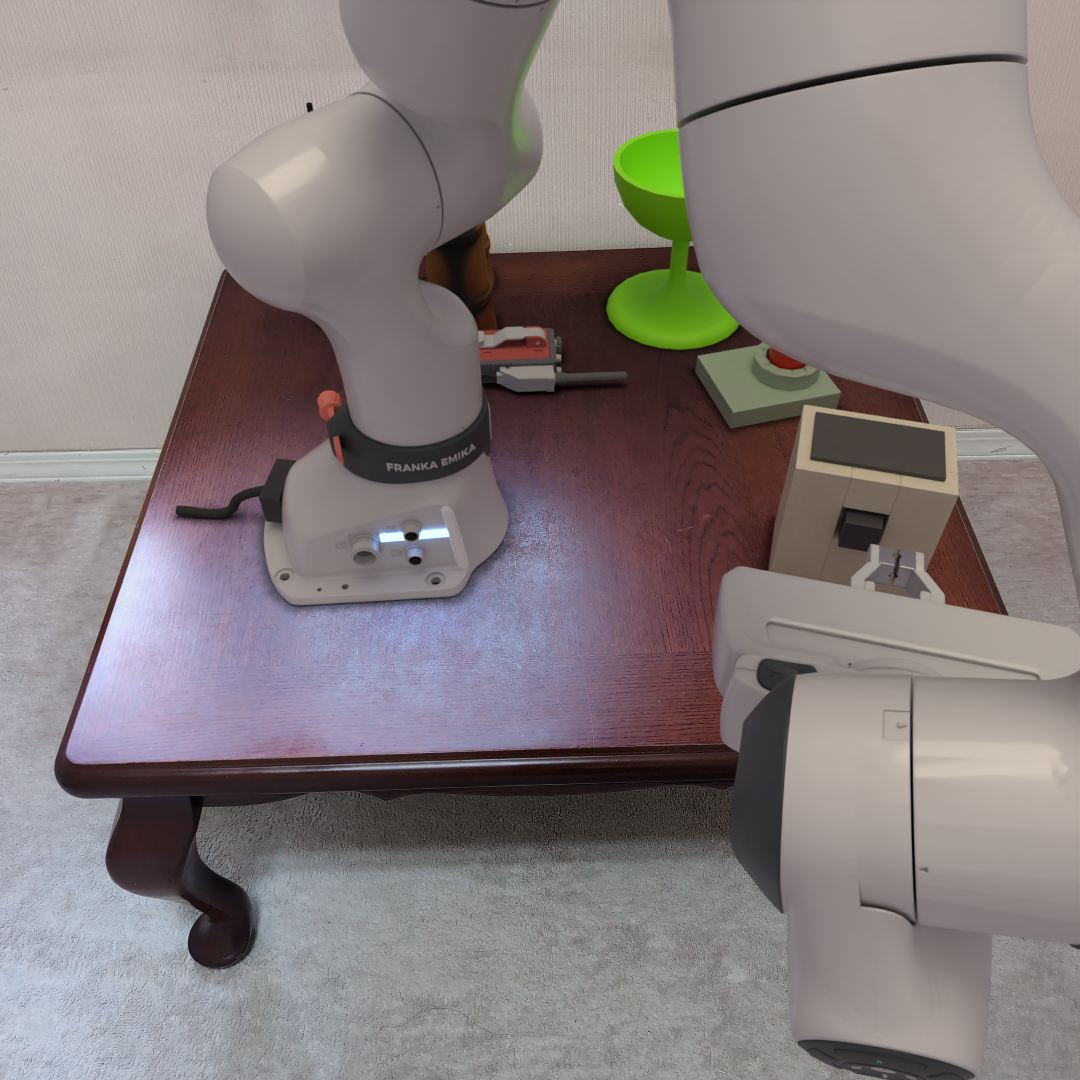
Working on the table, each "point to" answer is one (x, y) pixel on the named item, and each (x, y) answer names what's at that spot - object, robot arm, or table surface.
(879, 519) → the power button
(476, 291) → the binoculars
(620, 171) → the wineglass
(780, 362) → the mains button
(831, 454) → the beige box
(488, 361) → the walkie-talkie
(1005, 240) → the robot arm
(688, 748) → the table surface
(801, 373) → the switch box
